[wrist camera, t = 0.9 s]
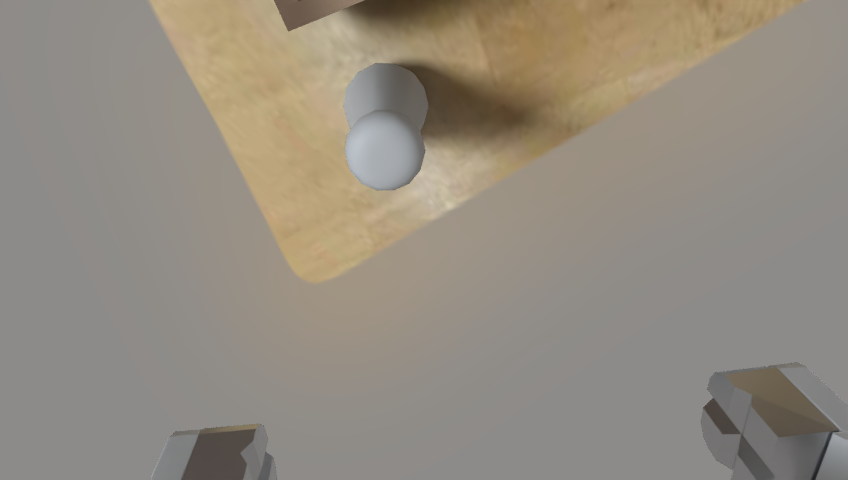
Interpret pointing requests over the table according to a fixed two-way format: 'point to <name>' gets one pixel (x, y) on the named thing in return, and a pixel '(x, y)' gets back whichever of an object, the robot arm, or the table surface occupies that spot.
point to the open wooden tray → (309, 10)
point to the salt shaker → (385, 126)
